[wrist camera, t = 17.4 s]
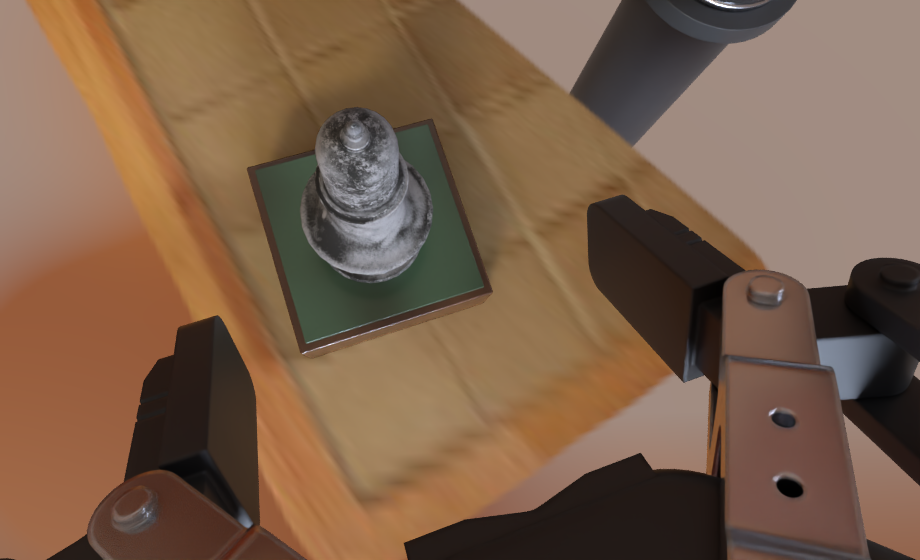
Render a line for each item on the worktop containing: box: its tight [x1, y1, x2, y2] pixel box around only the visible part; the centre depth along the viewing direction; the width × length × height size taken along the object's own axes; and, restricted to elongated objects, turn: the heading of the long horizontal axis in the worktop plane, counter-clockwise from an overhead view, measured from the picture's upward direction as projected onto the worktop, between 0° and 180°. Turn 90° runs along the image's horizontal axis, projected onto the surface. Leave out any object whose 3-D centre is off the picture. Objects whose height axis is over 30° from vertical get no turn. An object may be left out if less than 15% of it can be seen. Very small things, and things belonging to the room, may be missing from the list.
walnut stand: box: [247, 119, 493, 358], centre depth 32 cm, size 10×10×4 cm
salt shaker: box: [300, 107, 433, 283], centre depth 24 cm, size 6×6×12 cm
